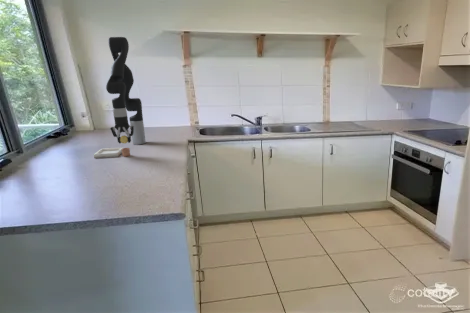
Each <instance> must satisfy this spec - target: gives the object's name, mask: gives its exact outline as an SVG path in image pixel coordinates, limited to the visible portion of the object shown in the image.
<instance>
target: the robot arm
mask: <svg viewBox="0 0 470 313" xmlns="http://www.w3.org/2000/svg"><path fill="white" fill-rule="evenodd" d="M107 41H108V46H109V52H110V53H111V56H112V60H113V63H112V65H111V70H110V75H109V78H108V80H107V82H106V86H105V89H106V92H107V93H108V94H110V95H119V96H117V97H115V98H112V99H111V105H112V112H113V114H112V115H113V119H114V126H111V127H110V128H109V130H110V131H111V133H112V135H113V137H114V138H116V139H117V143H118V144H122V143H121V141H120V137H121V134H122V133H125V135H126V136H127V137H128V142H127V144H130V143H131V142H132V144H133V145H135V146H136V145H144V144H146V143H147V141H146V133H145V124H144V117H143V105H142V100H141V98H140V97H139V98H138V97H134V98H133V97H131V98H130V92H131V90H132V87H133V85H134V76H133V72H132V70H131V69H130V67H129V66H128V65H127V64H126V61H127V58H128V54H129V49H130V48H129V47H130V45H129V41H128V39H127V37H125V36H110V37H108V40H107ZM128 112H136V113H135V114H134V115H131V116H130V117H129V120H128ZM129 123H130V124H129ZM116 130H117V132H116ZM129 130H130V131H129Z"/></svg>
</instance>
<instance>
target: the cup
mask: <svg viewBox="0 0 470 313" xmlns="http://www.w3.org/2000/svg"><path fill="white" fill-rule="evenodd" d="M122 148H123V149H121V151H122V153H121V155H122V157H123V158H127V157H130V156H131V148H129V147H122Z"/></svg>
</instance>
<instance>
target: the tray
mask: <svg viewBox="0 0 470 313" xmlns="http://www.w3.org/2000/svg"><path fill="white" fill-rule="evenodd" d="M123 148H124V147H109V148H100V149H99V150H98V151H96V152H95V153H94V154H93V158H94V159H103V158H118V157H119V156H120V155H122V151H121V149H123Z"/></svg>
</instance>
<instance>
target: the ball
mask: <svg viewBox="0 0 470 313" xmlns="http://www.w3.org/2000/svg"><path fill="white" fill-rule="evenodd" d="M120 141H121V143H120V144H128V136H127V135H126V134H125V135H120Z"/></svg>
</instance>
